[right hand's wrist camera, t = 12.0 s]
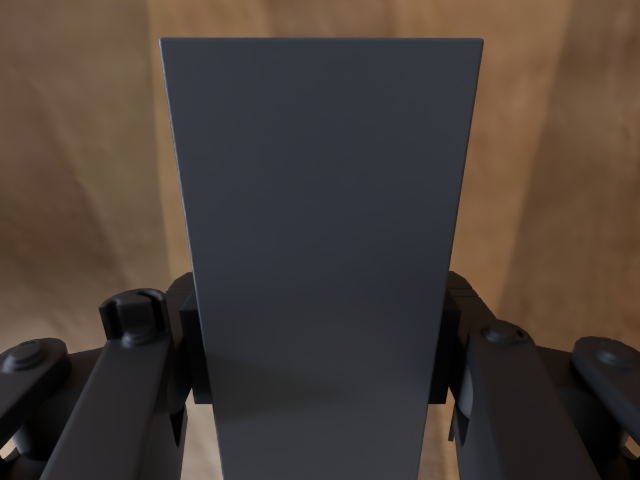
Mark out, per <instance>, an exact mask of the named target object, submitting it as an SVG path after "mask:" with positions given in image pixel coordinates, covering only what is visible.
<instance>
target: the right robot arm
mask: <svg viewBox="0 0 640 480" xmlns="http://www.w3.org/2000/svg"><path fill="white" fill-rule="evenodd" d="M99 311H100V315H101V319H102V322H103V326H104V330H105V334H106V337H107V342H106V344H105V346H104V347H102V348H98V349H94V350H88V351H83V352H78V353H73V354H68V351H67V347H66V344H65V343H64V342H63V341H61V340H60V339H55V338H43V339H35V340H30V341H29V342H28V341H26V342H23V343H21V344H19V345H17V346H15V347H13V348H11V349H8V350H6V351H5V352H3V353H2V354H0V450H1V448H2V447H3V446H4V445H5V444H6V443H7V442H8V441H9V440H10V439H11V437H12V438H13V440H14V442H15V444H16V448H15V449H14V450H13V451H12V452H11V453H10V454H9V455H8V456H7V457H6V458H4V459H3V458H1V456H0V480H180V478H181V470H182V461H183V453H184V445H185V436H186V428H187V419H188V416H187V410H186V404H185V402H186V399H187V397H188V395H189V393H190V390H191V388H192V390H193V396H194V402H195V404H212V399H211V392H210V386H209V379H208V372H207V365H206V358H205V352H204V345H203V338H202V331H201V325H200V318H199V311H198V304H197V298H196V291H195V284H194V277H193V272H188V273H186V274H184V275H183V276H181V277H179V278H178V279H176V280H175V281H174V282H173V284H172V285H171V286H170V288H169V289H168V291H166V293H165V294H164V293H163V292H161V291H160V290H156V289H151V288H145V289H135V290H130V291H126V292H123V293H120V294H117V295H115V296H113V297H111V298H109V299H108V300H106V301H104V302H103V304H102V305H101V306H100V307H99ZM448 387H449V388H450V390H451V392H452V394H453V397H454V399H455V404H454V410H453V415H452V420H451V426H450V431H449V437H448V441H452V442H453V438H454V435H455V444H456V452H457V460H458V469H459V477H460V480H640V456H639V458H637V457H636V456H634V455H633V454H632V453H631V452H630V451H629V450H628V448H627V447H626V446H625V443H626V441H627V439H628V437H629V435H630V436H631V437H632V439H633V440H634V441H635V442H636V443H637V444H638V445H639V446H640V352H639V351H637V350H636V349H634V348H632V347H630V346H628V345H625V344H623V343H622V342H620V341H617V340H611V339H609V338H605V337H594V336H589V337H582V338H580V339H579V340H578V341H576V343H575V346H574V349H573V352H572V353H570V352H565V351H560V350H555V349H550V348H545V347H541V346H537V345H535V343H534V341H533V339H532V338H531V337H530V335H529V334H528V333H527V332H526V331H524V330H523V329H521V328H520V327H518V326H517V325H514V324H512V323H509V322H507V321H503V320H499V319H497V318H496V317H495V316H494V315H493V313H492V312H491V311H490V310H489V308H488V307H487V306H486V304H485V303H484V302H483V301H482V299H481V298H480V297H478V294H477V293H476V292H475V291H474V290H472V287H471V286H470V284H469V283H468V282H467V280H466V279H465V278H463V277H461V276H460V275H458V274H456V273H455V272H453V271H449V273H448V279H447V286H446V292H445V299H444V305H443V312H442V319H441V325H440V332H439V338H438V345H437V351H436V358H435V364H434V371H433V377H432V384H431V390H430V397H429V403H428V404H446V398H447V393H448Z"/></svg>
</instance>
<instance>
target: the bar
mask: <svg viewBox="0 0 640 480" xmlns="http://www.w3.org/2000/svg"><path fill="white" fill-rule="evenodd" d="M483 44H484V41H483V39H481V38H186V37H162V38H160V39H159V47H160V54H161V60H162V67H163V74H164V81H165V88H166V94H167V101H168V108H169V115H170V121H171V128H172V135H173V142H174V149H175V155H176V162H177V169H178V176H179V182H180V189H181V196H182V203H183V209H184V216H185V223H186V230H187V237H188V243H189V250H190V257H191V264H192V270H193V277H194V284H195V291H196V298H197V304H198V311H199V318H200V325H201V331H202V338H203V345H204V352H205V358H206V365H207V372H208V379H209V386H210V392H211V399H212V406H213V413H214V419H215V426H216V433H217V440H218V447H219V453H220V460H221V467H222V474H223V480H417V475H418V469H419V462H420V456H421V449H422V443H423V436H424V430H425V423H426V417H427V410H428V403H429V397H430V390H431V384H432V377H433V371H434V364H435V358H436V351H437V345H438V338H439V332H440V325H441V319H442V312H443V305H444V299H445V292H446V286H447V279H448V273H449V266H450V260H451V253H452V247H453V240H454V234H455V227H456V220H457V214H458V207H459V201H460V194H461V188H462V181H463V175H464V168H465V162H466V155H467V149H468V142H469V136H470V129H471V122H472V116H473V109H474V103H475V96H476V90H477V83H478V77H479V70H480V64H481V57H482V51H483Z"/></svg>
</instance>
